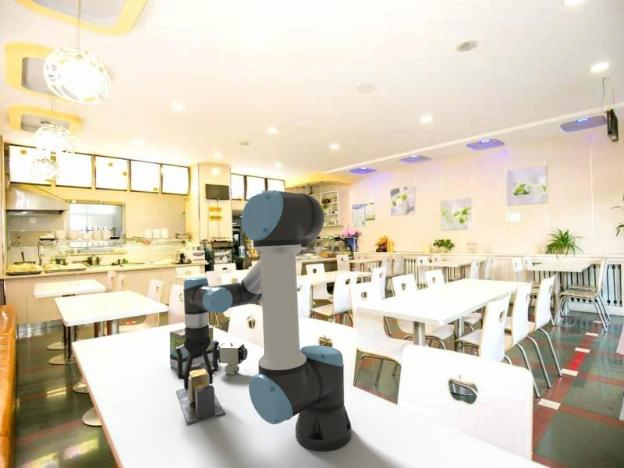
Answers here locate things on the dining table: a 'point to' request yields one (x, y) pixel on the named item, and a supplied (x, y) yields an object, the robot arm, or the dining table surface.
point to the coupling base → (199, 403)
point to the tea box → (177, 340)
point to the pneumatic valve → (232, 356)
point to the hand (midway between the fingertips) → (198, 396)
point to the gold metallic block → (198, 381)
